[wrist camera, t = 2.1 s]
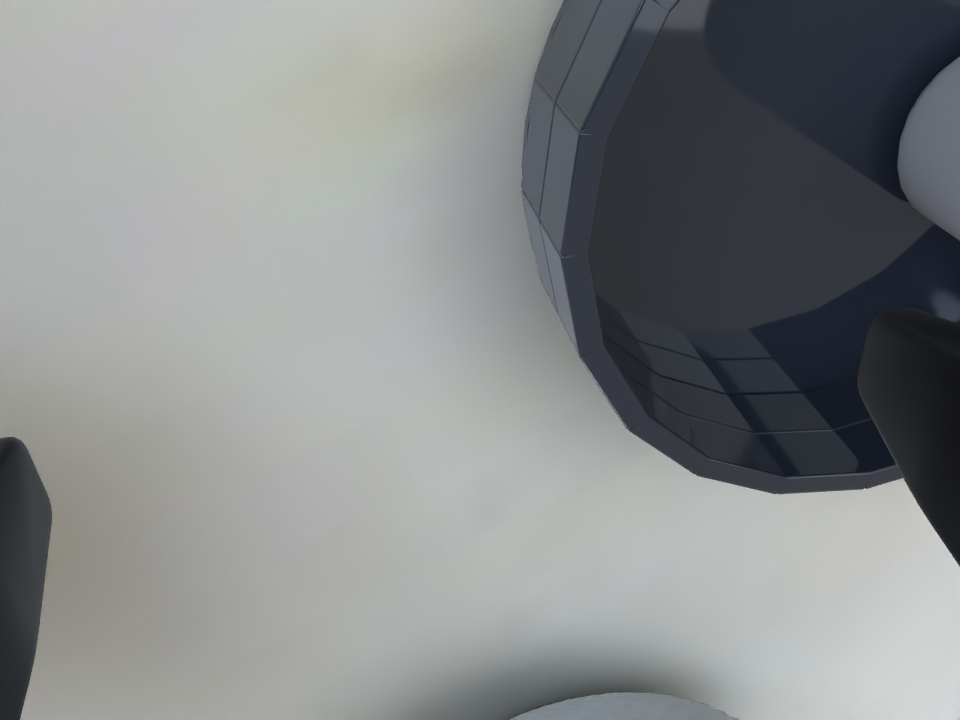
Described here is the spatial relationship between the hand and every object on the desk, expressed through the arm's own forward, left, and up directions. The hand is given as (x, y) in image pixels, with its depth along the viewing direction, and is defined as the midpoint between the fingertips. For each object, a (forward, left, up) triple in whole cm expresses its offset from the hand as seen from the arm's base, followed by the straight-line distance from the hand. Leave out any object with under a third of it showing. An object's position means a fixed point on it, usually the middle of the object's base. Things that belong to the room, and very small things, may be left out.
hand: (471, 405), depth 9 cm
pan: (+9, -7, -12) cm, 17 cm away
